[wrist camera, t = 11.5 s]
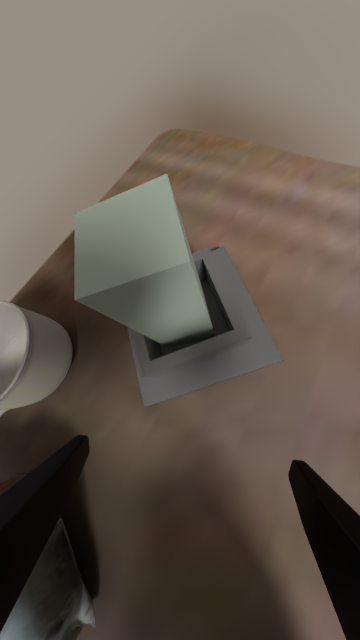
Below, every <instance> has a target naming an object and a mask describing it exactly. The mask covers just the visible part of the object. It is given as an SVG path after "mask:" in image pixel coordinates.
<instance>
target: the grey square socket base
mask: <svg viewBox="0 0 360 640" xmlns="http://www.w3.org/2000/svg"><path fill="white" fill-rule="evenodd" d="M192 257H193V260H194V263H195V267H196V270H197V273H198V276H199V280H200V283H201V286H202V290H203V293H204V296H205V300H206V304H207V307H208V311H209V314H210V318H211V322H212V325H213V329H214V333H215V337H211V338H207V339H203V340H200V341H196V342H192V343H188V344H184V345H180V346H176V347H172V348H168V347H166V346H164V345H162V344H160V343H158V342H156V341H154V340H152V339H150V338H148V337H146V336H144V335H143V334H141V333H139V332H137V331H135V330H133V329H131V328H129V327H127V330H128V334H129V339H130V344H131V348H132V353H133V358H134V362H135V367H136V372H137V376H138V381H139V386H140V390H141V395H142V400H143V404H144V407H147V406H150V405H153V404H156V403H159V402H162V401H165V400H168V399H171V398H174V397H177V396H179V395H182V394H185V393H188V392H191V391H194V390H197V389H200V388H203V387H206V386H209V385H212V384H215V383H218V382H221V381H224V380H227V379H230V378H233V377H236V376H239V375H242V374H245V373H248V372H251V371H254V370H257V369H260V368H263V367H266V366H268V365H271V364H274V363H277V362H280V361H283V359H282V357H281V355H280V353H279V351H278V349H277V347H276V345H275V344H274V342H273V340H272V338H271V336H270V334H269V332H268V330H267V328H266V326H265V324H264V322H263V321H262V319H261V317H260V315H259V313H258V311H257V309H256V307H255V305H254V303H253V301H252V299H251V297H250V296H249V294H248V292H247V290H246V288H245V286H244V284H243V282H242V280H241V278H240V276H239V274H238V273H237V271H236V269H235V267H234V265H233V263H232V261H231V259H230V257H229V255H228V253H227V251H226V249H225V248H224V246H223V247H220V248H218V249H216V250H213V251H211V250H210V248H209V246H207V247H205V248H203V249H201V250H198V251H196V252H194V253H192Z"/></svg>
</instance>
